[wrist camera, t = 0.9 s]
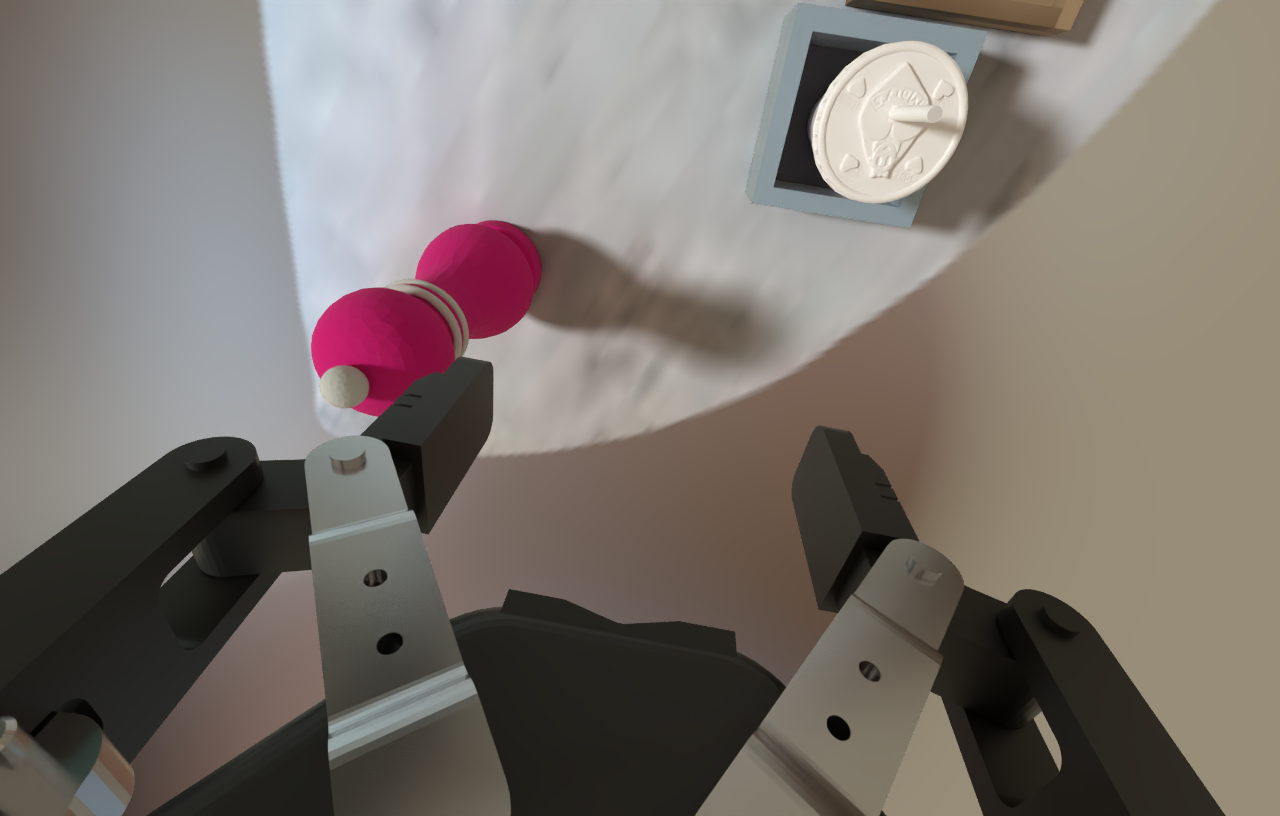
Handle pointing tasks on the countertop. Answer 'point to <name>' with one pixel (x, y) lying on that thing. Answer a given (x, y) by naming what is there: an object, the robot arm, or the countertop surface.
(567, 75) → the countertop surface
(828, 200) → the holder
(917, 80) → the smoothie
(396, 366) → the pepper mill
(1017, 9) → the tray
